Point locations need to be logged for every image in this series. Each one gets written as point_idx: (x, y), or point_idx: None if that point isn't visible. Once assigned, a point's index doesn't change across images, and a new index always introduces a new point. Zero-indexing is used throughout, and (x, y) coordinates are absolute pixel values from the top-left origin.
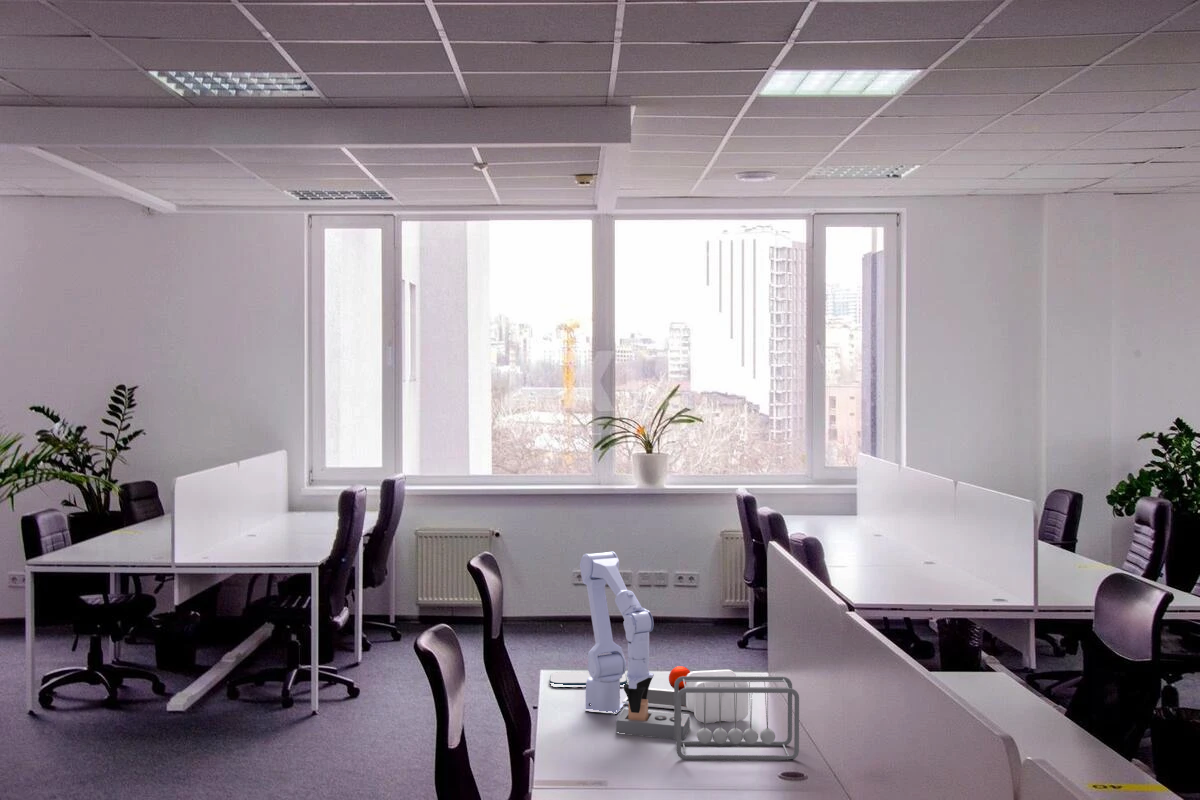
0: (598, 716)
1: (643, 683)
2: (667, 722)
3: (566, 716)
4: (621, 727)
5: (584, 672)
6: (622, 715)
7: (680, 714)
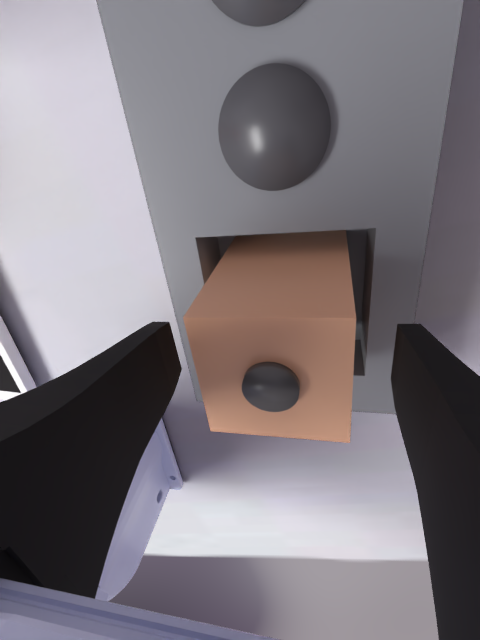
0: (199, 445)
1: (73, 472)
2: (380, 5)
3: (245, 519)
4: None
5: None
6: None
7: None
